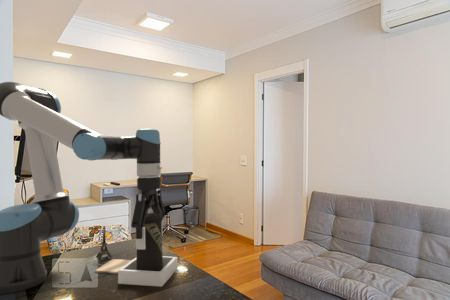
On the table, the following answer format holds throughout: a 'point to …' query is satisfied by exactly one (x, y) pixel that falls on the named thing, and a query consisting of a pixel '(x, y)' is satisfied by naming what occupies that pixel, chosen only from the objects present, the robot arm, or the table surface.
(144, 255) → the container
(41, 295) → the table surface
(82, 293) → the table surface
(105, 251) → the eiffel tower figurine
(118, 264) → the cork mat
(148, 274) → the frame
